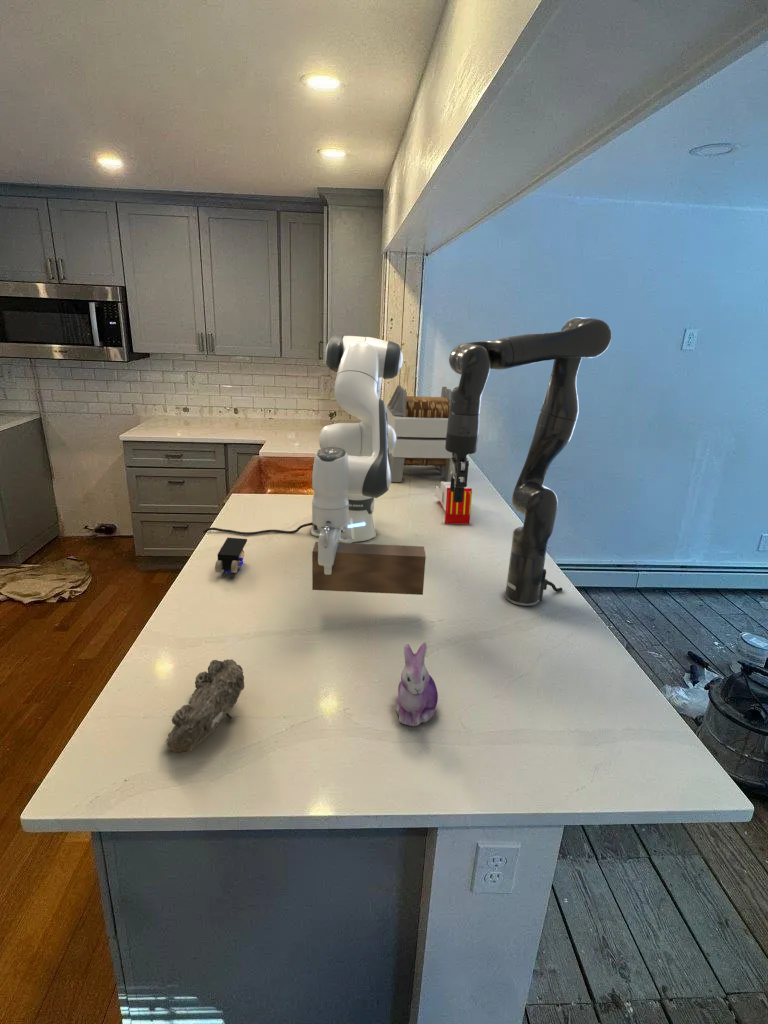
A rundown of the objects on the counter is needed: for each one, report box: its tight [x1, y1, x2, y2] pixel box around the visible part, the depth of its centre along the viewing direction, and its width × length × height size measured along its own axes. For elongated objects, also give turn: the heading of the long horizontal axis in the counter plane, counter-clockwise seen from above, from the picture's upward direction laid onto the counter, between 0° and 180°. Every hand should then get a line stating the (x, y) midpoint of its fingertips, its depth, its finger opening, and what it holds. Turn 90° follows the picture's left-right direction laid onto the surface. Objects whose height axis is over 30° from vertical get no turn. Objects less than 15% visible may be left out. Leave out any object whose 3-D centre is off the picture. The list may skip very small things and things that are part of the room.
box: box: [311, 541, 427, 596], centre depth 142 cm, size 28×6×10 cm, turn 89°
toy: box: [434, 481, 473, 525], centre depth 222 cm, size 12×13×30 cm
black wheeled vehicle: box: [214, 537, 248, 578], centre depth 166 cm, size 7×8×15 cm
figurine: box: [395, 642, 439, 727], centre depth 109 cm, size 9×10×15 cm
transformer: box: [386, 384, 453, 483], centre depth 268 cm, size 34×33×41 cm
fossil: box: [166, 658, 245, 754], centre depth 106 cm, size 22×10×15 cm
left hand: (329, 566), depth 142 cm, fingers closed on box, 6 cm apart
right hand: (456, 496), depth 140 cm, fingers open, 8 cm apart
